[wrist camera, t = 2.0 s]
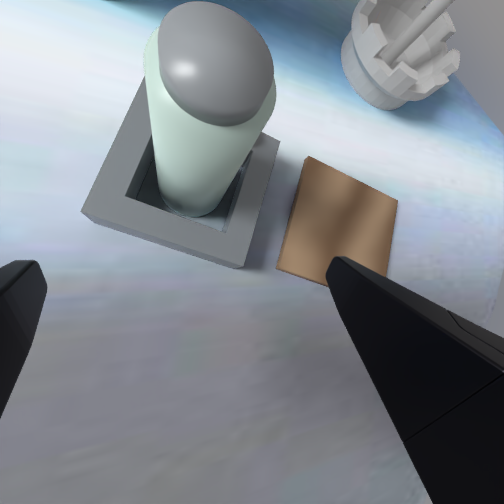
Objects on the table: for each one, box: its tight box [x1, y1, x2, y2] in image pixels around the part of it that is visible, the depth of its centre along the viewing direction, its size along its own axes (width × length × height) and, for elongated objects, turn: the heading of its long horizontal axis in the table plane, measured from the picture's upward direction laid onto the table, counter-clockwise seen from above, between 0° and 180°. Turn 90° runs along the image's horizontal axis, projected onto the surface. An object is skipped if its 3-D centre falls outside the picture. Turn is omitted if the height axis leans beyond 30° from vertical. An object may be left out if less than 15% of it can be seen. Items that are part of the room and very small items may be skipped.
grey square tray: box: [80, 76, 280, 269], centre depth 20 cm, size 12×12×4 cm
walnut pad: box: [276, 156, 398, 287], centre depth 25 cm, size 12×12×1 cm
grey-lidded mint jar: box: [143, 1, 276, 217], centre depth 15 cm, size 6×6×13 cm
